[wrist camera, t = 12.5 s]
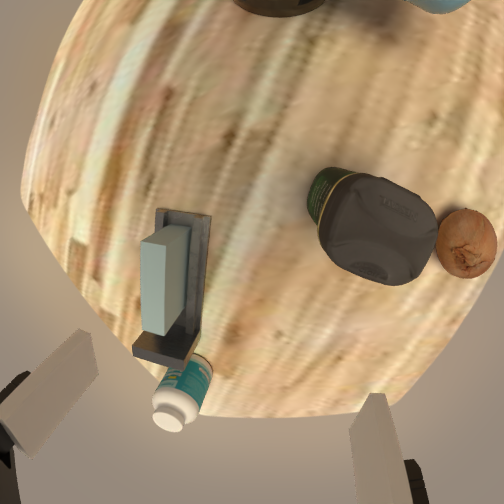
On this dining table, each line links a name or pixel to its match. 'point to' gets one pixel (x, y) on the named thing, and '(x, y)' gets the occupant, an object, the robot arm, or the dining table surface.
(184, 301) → the gray rectangular block
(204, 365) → the pill bottle
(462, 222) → the onion
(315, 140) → the dining table surface
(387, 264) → the coffee jar
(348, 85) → the dining table surface
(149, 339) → the floor track
